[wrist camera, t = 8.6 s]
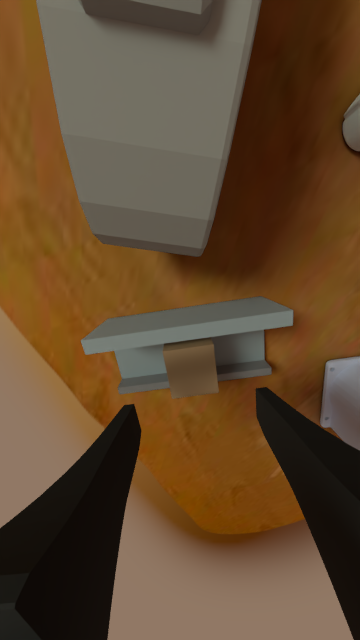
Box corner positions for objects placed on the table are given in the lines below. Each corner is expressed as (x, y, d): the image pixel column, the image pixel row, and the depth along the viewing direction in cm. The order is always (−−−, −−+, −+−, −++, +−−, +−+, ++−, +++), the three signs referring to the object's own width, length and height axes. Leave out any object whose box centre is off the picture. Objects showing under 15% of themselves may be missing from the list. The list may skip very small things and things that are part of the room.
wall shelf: (262, 363, 21) (290, 397, 16) (125, 381, 22) (108, 420, 17) (261, 296, 19) (293, 310, 14) (107, 318, 20) (80, 340, 14)
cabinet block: (209, 364, 21) (219, 395, 16) (174, 369, 21) (172, 401, 16) (204, 323, 19) (213, 344, 14) (166, 329, 19) (162, 351, 15)
